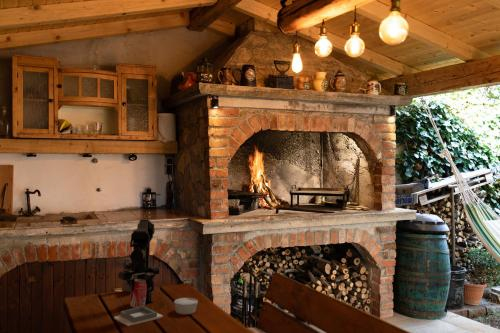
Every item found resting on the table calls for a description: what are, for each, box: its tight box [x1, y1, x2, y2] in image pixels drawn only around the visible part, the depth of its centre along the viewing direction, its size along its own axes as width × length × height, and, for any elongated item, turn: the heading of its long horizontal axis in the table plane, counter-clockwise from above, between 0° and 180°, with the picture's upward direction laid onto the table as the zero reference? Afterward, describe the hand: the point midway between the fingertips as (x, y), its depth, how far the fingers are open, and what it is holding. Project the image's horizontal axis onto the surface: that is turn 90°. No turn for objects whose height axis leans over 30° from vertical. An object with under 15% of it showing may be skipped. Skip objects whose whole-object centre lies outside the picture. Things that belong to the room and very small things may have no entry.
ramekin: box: [173, 297, 199, 316], centre depth 222 cm, size 11×11×5 cm
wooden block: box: [121, 257, 138, 293], centre depth 254 cm, size 4×11×18 cm, turn 70°
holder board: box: [113, 305, 164, 327], centre depth 212 cm, size 18×13×3 cm
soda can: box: [129, 279, 147, 308], centre depth 211 cm, size 7×7×12 cm
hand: (139, 291), depth 212 cm, fingers closed on soda can, 7 cm apart
